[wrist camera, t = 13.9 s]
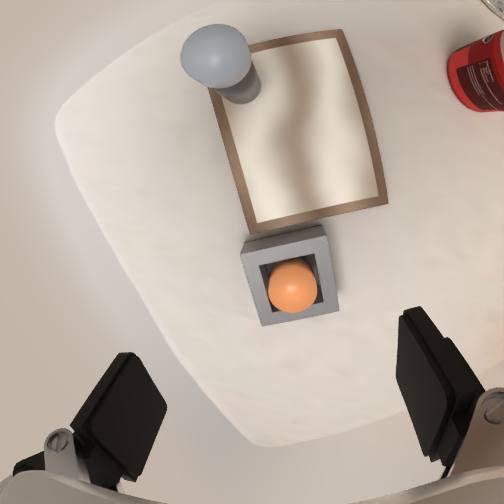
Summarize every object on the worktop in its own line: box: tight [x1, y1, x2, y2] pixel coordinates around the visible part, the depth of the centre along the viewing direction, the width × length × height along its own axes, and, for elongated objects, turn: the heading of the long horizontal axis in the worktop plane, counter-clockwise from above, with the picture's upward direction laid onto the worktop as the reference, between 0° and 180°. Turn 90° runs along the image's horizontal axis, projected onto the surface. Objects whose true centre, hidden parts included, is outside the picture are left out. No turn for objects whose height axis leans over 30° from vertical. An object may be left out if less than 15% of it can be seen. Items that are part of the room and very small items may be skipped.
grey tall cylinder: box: [181, 24, 261, 104], centre depth 18 cm, size 4×4×11 cm
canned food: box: [447, 30, 504, 112], centre depth 15 cm, size 8×8×11 cm
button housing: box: [240, 225, 339, 326], centre depth 29 cm, size 8×8×4 cm
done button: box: [268, 257, 317, 313], centre depth 27 cm, size 4×4×3 cm
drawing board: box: [208, 29, 389, 235], centre depth 25 cm, size 14×18×1 cm
